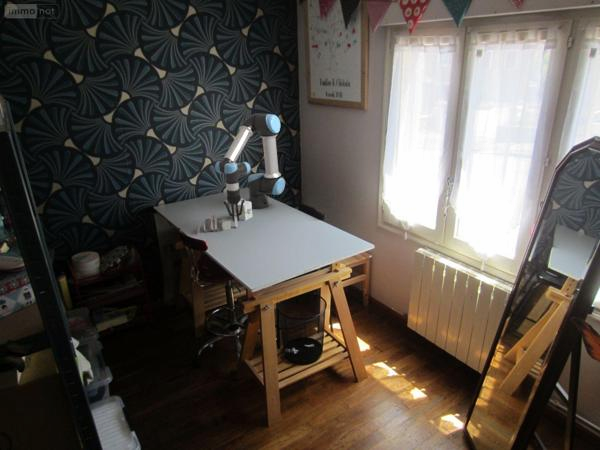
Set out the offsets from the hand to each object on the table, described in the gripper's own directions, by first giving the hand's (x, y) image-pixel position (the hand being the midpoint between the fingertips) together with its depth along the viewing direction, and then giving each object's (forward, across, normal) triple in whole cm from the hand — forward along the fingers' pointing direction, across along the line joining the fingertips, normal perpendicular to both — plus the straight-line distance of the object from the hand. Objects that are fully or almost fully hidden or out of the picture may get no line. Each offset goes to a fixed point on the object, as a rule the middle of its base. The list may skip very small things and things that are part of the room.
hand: (236, 225), depth 257 cm
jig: (+2, +6, 0) cm, 6 cm away
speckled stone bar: (+1, +12, 0) cm, 12 cm away
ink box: (+3, -5, -17) cm, 18 cm away
